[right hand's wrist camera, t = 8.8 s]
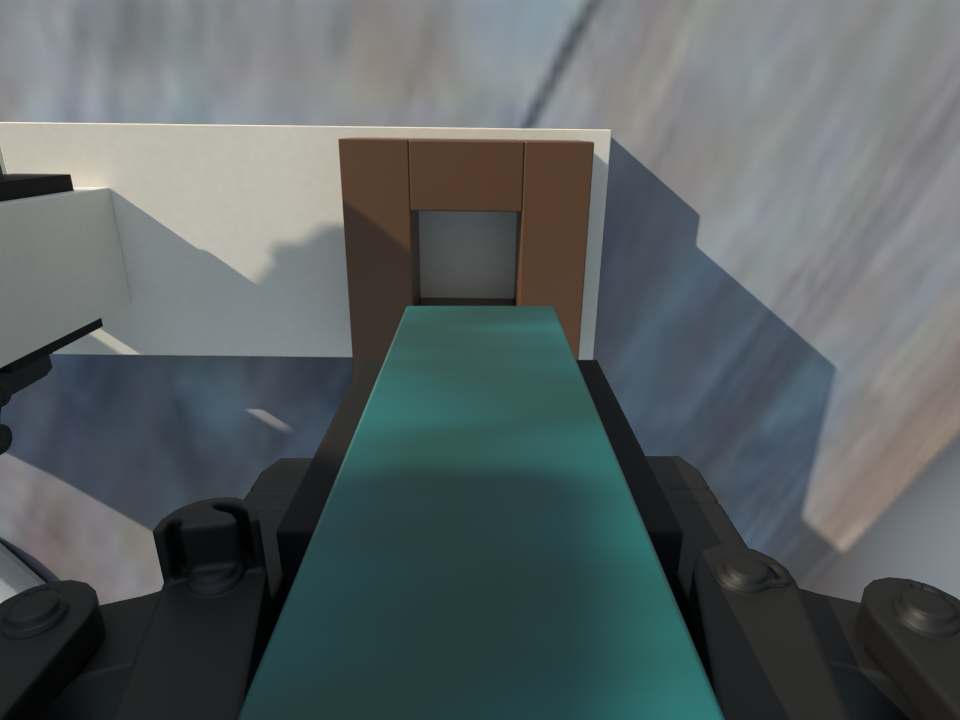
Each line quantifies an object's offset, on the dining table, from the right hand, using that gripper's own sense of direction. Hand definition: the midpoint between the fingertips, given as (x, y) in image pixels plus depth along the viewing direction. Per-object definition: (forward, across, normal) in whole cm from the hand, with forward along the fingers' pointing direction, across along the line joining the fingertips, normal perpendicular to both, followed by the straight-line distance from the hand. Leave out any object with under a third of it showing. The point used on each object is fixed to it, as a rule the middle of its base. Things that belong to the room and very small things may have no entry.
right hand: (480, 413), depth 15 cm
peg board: (+21, +9, 0) cm, 22 cm away
